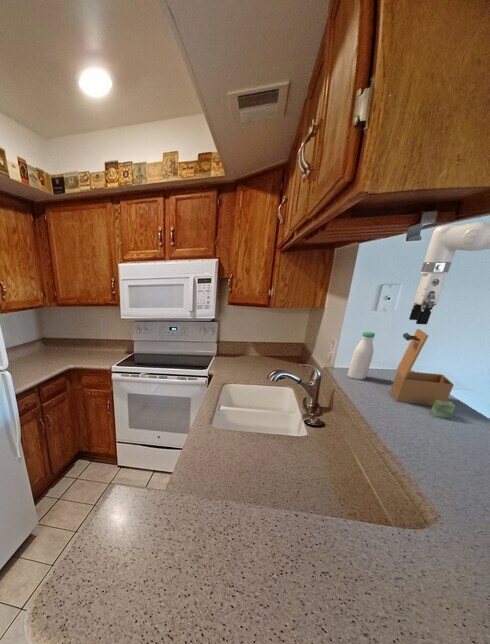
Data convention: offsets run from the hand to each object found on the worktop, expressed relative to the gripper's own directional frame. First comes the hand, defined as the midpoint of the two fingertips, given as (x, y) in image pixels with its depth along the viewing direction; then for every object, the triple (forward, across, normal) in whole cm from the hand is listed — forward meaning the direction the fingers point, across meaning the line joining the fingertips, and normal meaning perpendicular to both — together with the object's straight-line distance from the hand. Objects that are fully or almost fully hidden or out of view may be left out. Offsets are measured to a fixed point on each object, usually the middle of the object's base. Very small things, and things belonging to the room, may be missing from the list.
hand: (417, 321), depth 118 cm
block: (+29, -15, -12) cm, 34 cm away
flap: (+11, 0, -2) cm, 12 cm away
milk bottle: (+28, +20, +11) cm, 37 cm away
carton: (+28, 0, -8) cm, 29 cm away
